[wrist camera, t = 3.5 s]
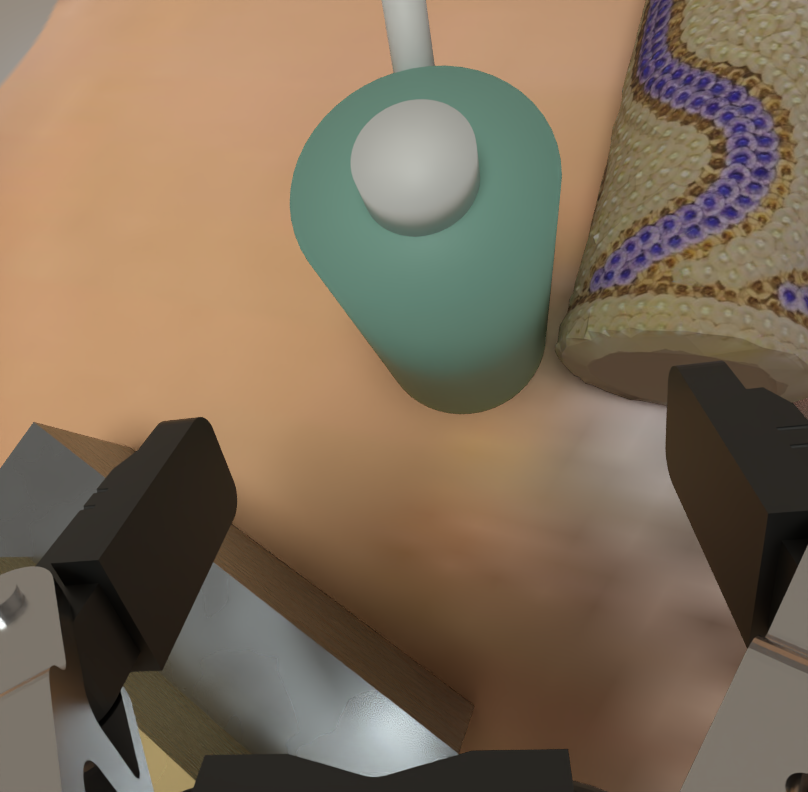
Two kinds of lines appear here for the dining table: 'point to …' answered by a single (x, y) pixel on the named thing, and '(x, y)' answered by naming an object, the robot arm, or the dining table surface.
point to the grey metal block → (243, 646)
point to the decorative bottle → (701, 206)
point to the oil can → (435, 221)
